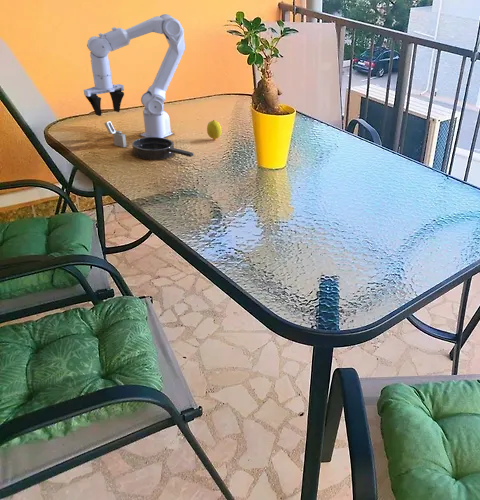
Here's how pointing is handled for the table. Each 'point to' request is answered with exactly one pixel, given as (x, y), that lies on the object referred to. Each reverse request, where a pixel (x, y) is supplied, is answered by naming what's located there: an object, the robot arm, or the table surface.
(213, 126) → the lemon
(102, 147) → the table surface
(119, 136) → the lighter
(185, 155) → the pan handle
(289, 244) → the table surface
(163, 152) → the pan
